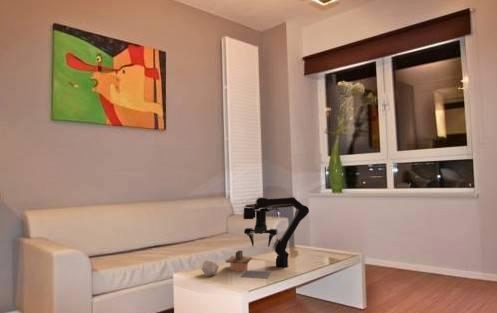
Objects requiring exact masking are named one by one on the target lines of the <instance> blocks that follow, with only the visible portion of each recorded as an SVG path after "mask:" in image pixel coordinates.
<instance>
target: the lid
mask: <svg viewBox="0 0 497 313" xmlns="http://www.w3.org/2000/svg"><path fill="white" fill-rule="evenodd" d="M243 254H244V251H243V250H236V252H235V256H233V255H232V256H230V257H229V258H227V259H226V260H225V263H229V264H230V263H243V264H247V263H248V264H249V262H250V261H251V260H252V258H253V257H252V256H244V255H243Z"/></svg>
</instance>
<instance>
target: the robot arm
mask: <svg viewBox="0 0 497 313" xmlns="http://www.w3.org/2000/svg"><path fill="white" fill-rule="evenodd" d="M279 205H280V206H281V205H292V207H293V208H295V212H294V216H293V218H292V220H291V221H290V223H289V225H288V226H287V228H286V229H285V232H284V233H283V234H282V236H281V238H276V240H275V242H274V243H273V250H274V252H275V254H276V258H275V267H276V268H288V267H289V256H290V254H289V253H288V251H286V250H287V247H288V242H289V241H290V239H291V238H292V235H293V234H294V232H295V231H296V229H297V227H298V226H299V224H300V223H301V221H302V220H304V219H305V218H306V217H307V215H308V214H309V212H310V209H309V207H308V206H307V205H304V204H302V203H301V202H300V201H299V200H298V199H297V198H295V197H293V196H289V197H279V198H278V197H277V198H276V197H275V198H269V197H257V198H256V200H255V204H253V206H252V207H243V212H242V214H243V215H242V217H243V220H254V219H255V225H254V228H253V227H246V228H244V230H243V232H244V234H245V235H246V236H248V237H249V240H250V242H251V246H252V247H254V245H255V243H254V242H255V241H254V240H255V239H254V234H260V235H262V234H268V243H267V244H268V245H267V247H268V248H269V247H270V246H271V243H272V240H273V237H275V236H277V235H278V234H279V233H278V232H279V231H278V229H277V228H270V229H268V225H267V212H270V210H269V209H268V207H270V206H279Z"/></svg>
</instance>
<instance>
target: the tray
mask: <svg viewBox="0 0 497 313" xmlns="http://www.w3.org/2000/svg"><path fill="white" fill-rule="evenodd" d="M271 273H272V271H264V270H263V271H261V270H258V271H257V270H245V271H244V272H243V274H242V275H241V276H240V278H247V279H263V280H268V278H269V277H270V276H271Z"/></svg>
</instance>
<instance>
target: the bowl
mask: <svg viewBox="0 0 497 313" xmlns="http://www.w3.org/2000/svg"><path fill="white" fill-rule="evenodd" d="M229 265H230V266H229V269H230V270H231V271H234V272H235V271H236V272H241V271H242V272H243V271H244V272H245V271H248V268H249V262H248V263H247V264H243V263H229Z"/></svg>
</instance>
